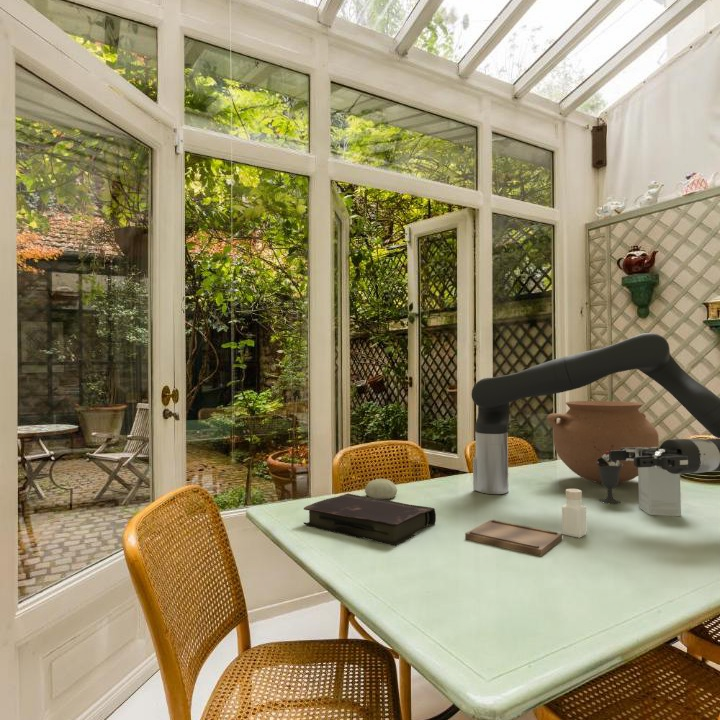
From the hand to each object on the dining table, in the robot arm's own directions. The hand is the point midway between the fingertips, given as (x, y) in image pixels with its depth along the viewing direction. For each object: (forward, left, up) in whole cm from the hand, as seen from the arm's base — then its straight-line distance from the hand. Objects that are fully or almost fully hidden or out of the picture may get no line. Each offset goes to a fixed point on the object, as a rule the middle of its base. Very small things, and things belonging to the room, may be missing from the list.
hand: (621, 458), depth 110 cm
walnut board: (-17, -19, -16) cm, 30 cm away
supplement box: (+3, +23, -16) cm, 28 cm away
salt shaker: (-8, -8, -16) cm, 20 cm away
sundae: (-9, +26, -16) cm, 32 cm away
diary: (-47, -30, -17) cm, 58 cm away
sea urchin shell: (-61, -7, -16) cm, 63 cm away
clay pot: (-16, +49, -16) cm, 54 cm away
